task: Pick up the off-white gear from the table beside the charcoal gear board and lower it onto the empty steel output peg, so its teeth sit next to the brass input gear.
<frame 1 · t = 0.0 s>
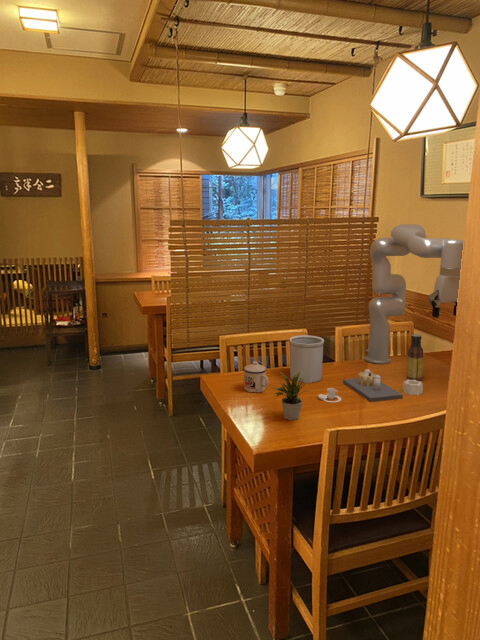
hand: (446, 316, 177), 31 cm above the table, tool pointing down, fingers open, 9 cm apart
teacup and saucer: (325, 397, 180), on the table
sauce bottle: (413, 379, 199), on the table
gear board: (371, 390, 186), on the table
gear: (412, 391, 184), on the table
teacup with lid: (257, 390, 186), on the table
utensil holder: (305, 378, 201), on the table
house plant: (290, 416, 161), on the table
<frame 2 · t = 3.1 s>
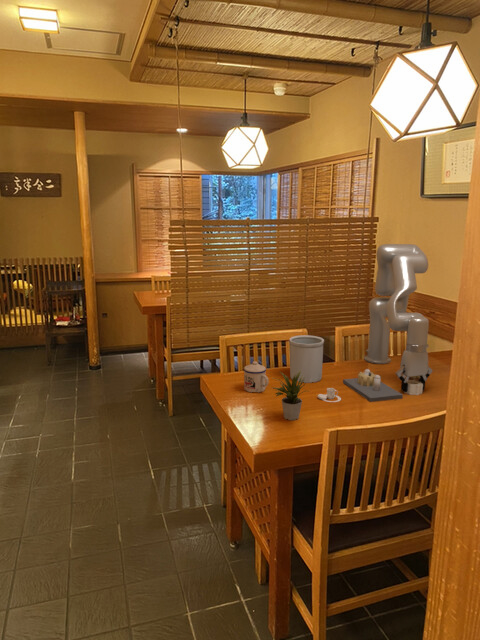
hand: (412, 389, 184), 1 cm above the table, tool pointing down, fingers closed on gear, 7 cm apart
gear: (412, 391, 184), on the table, touching gripper
everything else where it was.
when the fingers open (6 cm above the table, at t = 8.7 s): gear drops 4 cm, resting on gear board.
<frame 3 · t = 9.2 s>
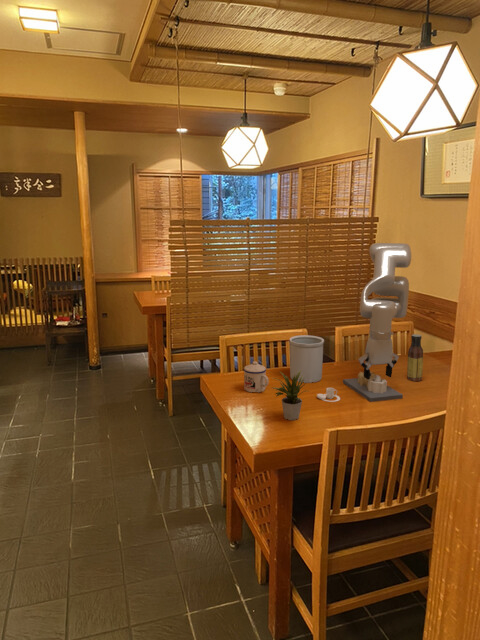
hand: (377, 377, 181), 7 cm above the table, tool pointing down, fingers open, 9 cm apart
gear: (376, 389, 182), point 1 cm above the table, touching gear board
everything else where it was.
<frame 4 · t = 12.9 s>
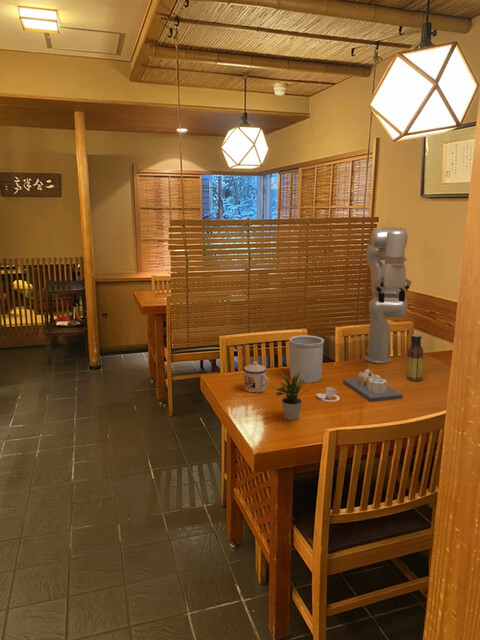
hand: (391, 301, 192), 34 cm above the table, tool pointing down, fingers open, 9 cm apart
nothing on the table moved.
at the end: gear 0.0 cm from the target spot on the gear board, point 1.5 cm above the gear board's base; gear tilted 0°; the gripper is holding nothing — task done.
